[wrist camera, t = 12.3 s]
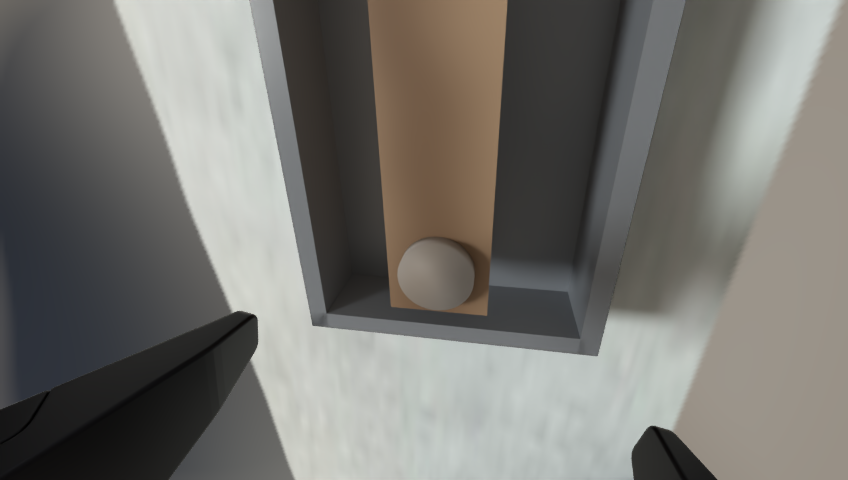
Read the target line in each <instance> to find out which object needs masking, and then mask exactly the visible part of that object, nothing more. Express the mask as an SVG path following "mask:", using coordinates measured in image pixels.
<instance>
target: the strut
mask: <svg viewBox="0 0 848 480" xmlns="http://www.w3.org/2000/svg"><path fill="white" fill-rule="evenodd" d="M507 1H508V0H368V13H369V26H370V39H371V52H372V66H373V79H374V92H375V105H376V118H377V131H378V144H379V157H380V170H381V183H382V196H383V209H384V222H385V235H386V248H387V261H388V274H389V287H390V300H391V307H398V308H409V309H420V310H430V311H441V312H452V313H462V314H473V315H484V316H487V308H488V293H489V277H490V262H491V247H492V231H493V216H494V201H495V185H496V170H497V155H498V139H499V124H500V109H501V93H502V78H503V62H504V47H505V32H506V16H507Z"/></svg>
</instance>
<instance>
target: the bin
mask: <svg viewBox="0 0 848 480" xmlns="http://www.w3.org/2000/svg"><path fill="white" fill-rule="evenodd" d="M249 1H250V6H251V12H252V17H253V22H254V27H255V32H256V37H257V42H258V47H259V53H260V58H261V63H262V68H263V73H264V78H265V83H266V89H267V94H268V99H269V104H270V109H271V114H272V119H273V124H274V130H275V135H276V140H277V145H278V150H279V155H280V160H281V165H282V171H283V176H284V181H285V186H286V191H287V196H288V201H289V207H290V212H291V217H292V222H293V227H294V232H295V237H296V242H297V248H298V253H299V258H300V263H301V268H302V273H303V278H304V284H305V289H306V294H307V299H308V304H309V309H310V314H311V319H312V325H313V326H321V327H330V328H339V329H349V330H358V331H367V332H377V333H386V334H395V335H404V336H414V337H423V338H432V339H442V340H451V341H460V342H470V343H479V344H488V345H497V346H507V347H516V348H525V349H535V350H544V351H553V352H563V353H572V354H581V355H590V356H598V353H599V349H600V345H601V341H602V337H603V333H604V329H605V325H606V321H607V317H608V313H609V309H610V304H611V300H612V296H613V292H614V288H615V284H616V280H617V276H618V272H619V268H620V264H621V260H622V256H623V252H624V248H625V244H626V240H627V236H628V232H629V228H630V224H631V220H632V216H633V212H634V208H635V204H636V200H637V196H638V192H639V188H640V184H641V180H642V176H643V171H644V167H645V163H646V159H647V155H648V151H649V147H650V143H651V139H652V135H653V131H654V127H655V123H656V119H657V115H658V111H659V107H660V103H661V99H662V95H663V91H664V87H665V83H666V79H667V75H668V71H669V67H670V63H671V59H672V55H673V51H674V47H675V43H676V38H677V34H678V30H679V26H680V22H681V18H682V14H683V10H684V6H685V2H686V0H508V1H507V16H506V32H505V47H504V62H503V78H502V93H501V109H500V124H499V139H498V155H497V170H496V185H495V201H494V216H493V231H492V247H491V262H490V277H489V293H488V308H487V316H484V315H473V314H462V313H452V312H441V311H430V310H420V309H409V308H398V307H391V300H390V287H389V274H388V261H387V248H386V235H385V222H384V209H383V196H382V183H381V170H380V157H379V144H378V131H377V118H376V105H375V92H374V79H373V66H372V52H371V39H370V26H369V13H368V0H249Z"/></svg>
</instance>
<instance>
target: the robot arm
mask: <svg viewBox="0 0 848 480" xmlns="http://www.w3.org/2000/svg"><path fill="white" fill-rule="evenodd" d="M257 345H258V320H257V317H256V315H254V314H251V313H247V312H243V311H237V312H234V313H232V314H229V315H227V316H224V317H222V318H220V319H217V320H215V321H212V322H210V323H208V324H205V325H203V326H200V327H198V328H196V329H194V330H191V331H189V332H186V333H184V334H181V335H179V336H176V337H174V338H172V339H169V340H167V341H164V342H162V343H160V344H157V345H155V346H153V347H150V348H148V349H145V350H143V351H141V352H138V353H136V354H133V355H131V356H128V357H126V358H124V359H121V360H119V361H116V362H114V363H112V364H109V365H107V366H104V367H102V368H100V369H98V370H95V371H92V372H90V373H88V374H85V375H83V376H80V377H78V378H76V379H73V380H71V381H69V382H66V383H64V384H61V385H59V386H56V387H54V388H52V389H51V391H44V392H42V393H40V394H37V395H35V396H32V397H30V398H27V399H25V400H23V401H20V402H18V403H15V404H13V405H10V406H8V407H5V408H3V409H0V480H169V479H170V477H171V476H172V474H173V473H174V472H175V470H176V469H177V468H178V466H179V465H180V464H181V462H182V461H183V460H184V458H185V457H186V455H187V454H188V453H189V451H190V450H191V449H192V447H193V446H194V445H195V443H196V442H197V441H198V439H199V438H200V437H201V435H202V434H203V432H204V431H205V430H206V428H207V427H208V426H209V424H210V423H211V422H212V420H213V419H214V418H215V416H216V415H217V413H218V412H219V410H220V409H221V407H222V406H223V404H224V402H225V401H226V399H227V398H228V396H229V394H230V393H231V391H232V389H233V388H234V386H235V384H236V383H237V381H238V379H239V377H240V376H241V374H242V372H243V371H244V369H245V367H246V365H247V364H248V362H249V361H250V359H251V357H252V356H253V354H254V352H255V350H256V348H257ZM632 468H633V476H634V480H717V479H716V478H715V477H714V475H713V474H712V473H711V472H710V471H709V470H708V469H707V468H706V467H705V466H704V465H703V464H702V463H701V461H700V460H699V459H698V458H697V457H696V456H695V455H694V454H693V453H692V452H691V451H690V450H689V448H688V447H687V446H686V445H685V444H684V443H683V442H682V441H681V440H680V439H679V438H678V437H677V435H676V434H674V433H673V432H672V431H670V430H667V429H664V428H660V427H657V426H650V427H648V428H647V429H646V431H645V432H644V434H643V435H642V436H641V438H640V439H639V441H638V442H637V444H636V445H635V446H634V448H633V451H632Z"/></svg>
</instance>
